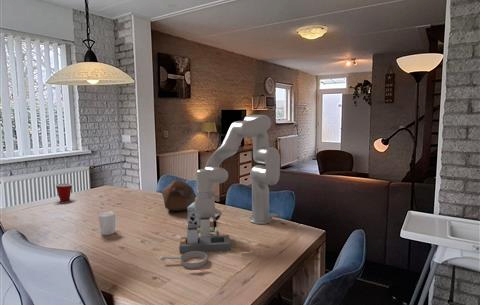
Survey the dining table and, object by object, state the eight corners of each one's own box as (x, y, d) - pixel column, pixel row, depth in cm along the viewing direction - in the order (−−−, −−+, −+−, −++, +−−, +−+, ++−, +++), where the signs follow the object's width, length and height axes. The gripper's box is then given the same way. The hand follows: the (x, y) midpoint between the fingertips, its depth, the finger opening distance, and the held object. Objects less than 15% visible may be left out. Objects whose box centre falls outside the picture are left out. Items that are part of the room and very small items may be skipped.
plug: (210, 233, 156) (209, 214, 155) (210, 237, 151) (209, 217, 150) (200, 234, 155) (200, 214, 154) (200, 237, 151) (200, 217, 150)
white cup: (119, 230, 163) (118, 212, 161) (108, 236, 155) (107, 217, 154) (107, 229, 165) (106, 211, 164) (96, 234, 158) (94, 215, 156)
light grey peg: (198, 245, 141) (197, 223, 140) (197, 249, 137) (197, 227, 136) (188, 245, 141) (187, 224, 140) (187, 249, 136) (186, 228, 135)
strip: (229, 243, 146) (228, 233, 145) (230, 252, 136) (230, 242, 135) (181, 245, 143) (181, 236, 143) (179, 255, 134) (179, 245, 133)
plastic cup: (76, 200, 222) (75, 183, 221) (59, 203, 214) (58, 186, 213) (70, 197, 230) (69, 181, 228) (54, 200, 222) (53, 184, 220)
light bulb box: (199, 227, 167) (198, 207, 166) (187, 226, 168) (186, 207, 167) (205, 220, 177) (204, 202, 176) (194, 219, 179) (193, 201, 177)
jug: (156, 214, 190) (204, 222, 189) (158, 185, 183) (208, 193, 183) (165, 198, 209) (209, 206, 208) (168, 172, 202) (213, 179, 202)
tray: (216, 232, 159) (216, 227, 159) (217, 240, 149) (216, 235, 148) (194, 233, 158) (194, 228, 158) (193, 241, 147) (193, 236, 147)
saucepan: (206, 271, 120) (206, 261, 120) (159, 272, 119) (159, 263, 119) (208, 258, 131) (208, 249, 130) (165, 259, 130) (165, 250, 130)
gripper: (222, 192, 155) (222, 225, 158) (186, 193, 154) (187, 227, 156) (222, 195, 148) (223, 231, 150) (185, 197, 146) (186, 232, 148)
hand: (205, 228), depth 153 cm, fingers open, 8 cm apart
